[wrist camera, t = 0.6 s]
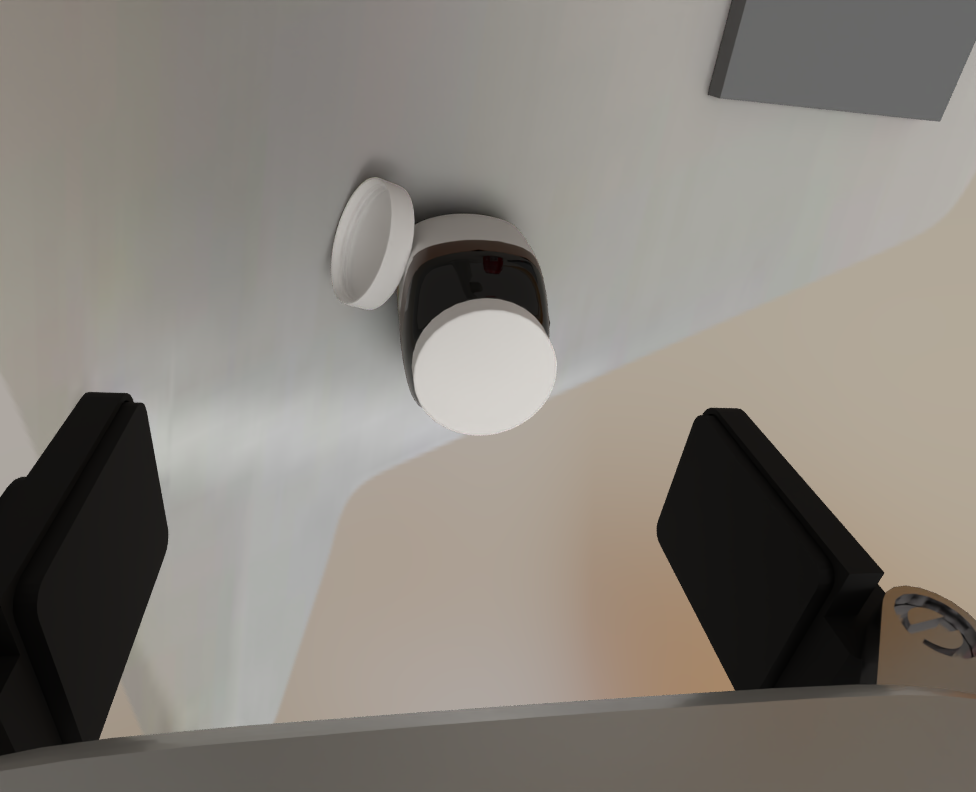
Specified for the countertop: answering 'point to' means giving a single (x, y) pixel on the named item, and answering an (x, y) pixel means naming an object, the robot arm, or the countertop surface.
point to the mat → (846, 54)
